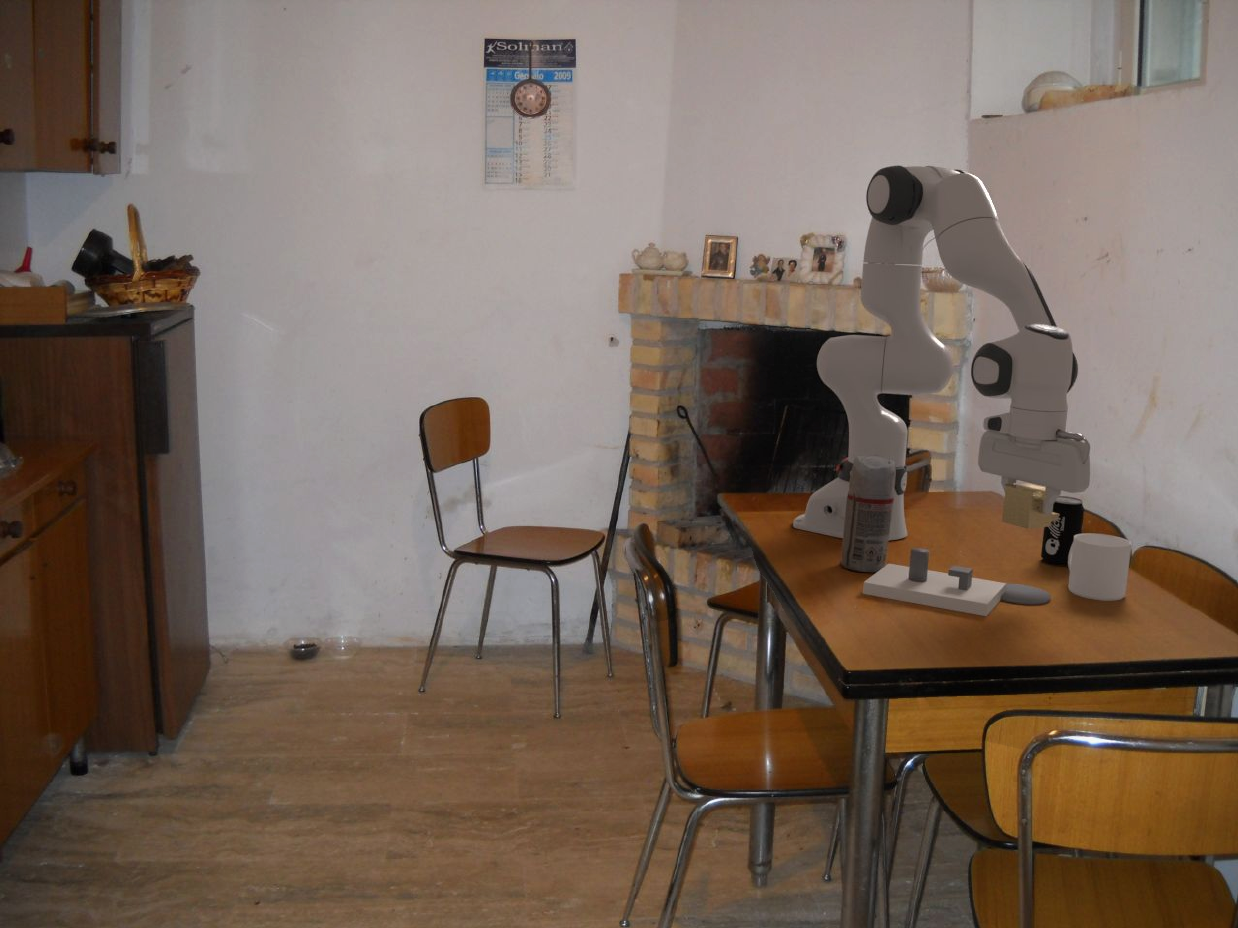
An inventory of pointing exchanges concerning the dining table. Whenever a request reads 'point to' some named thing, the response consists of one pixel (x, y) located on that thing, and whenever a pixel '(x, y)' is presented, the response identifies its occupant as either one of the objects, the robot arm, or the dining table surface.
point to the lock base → (935, 586)
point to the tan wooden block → (1026, 506)
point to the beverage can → (1062, 530)
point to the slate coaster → (1025, 595)
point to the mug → (1099, 566)
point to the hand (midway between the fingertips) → (1028, 509)
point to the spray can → (868, 513)
